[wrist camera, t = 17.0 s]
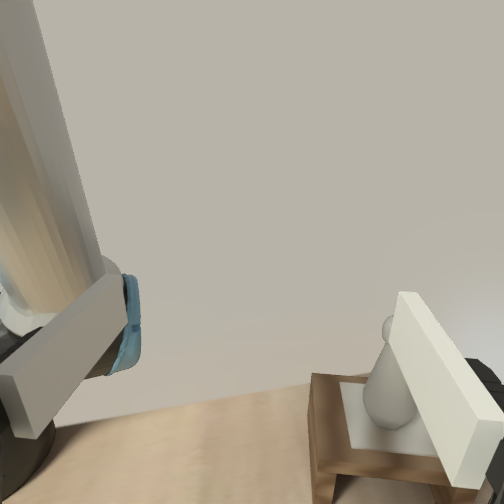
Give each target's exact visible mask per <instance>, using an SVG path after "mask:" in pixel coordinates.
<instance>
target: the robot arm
mask: <svg viewBox="0 0 504 504" xmlns="http://www.w3.org/2000/svg"><path fill="white" fill-rule="evenodd" d="M0 283H1V284H2V286H3V287H4V288H3V290H2V292H0V504H2V500H3V499H5V498H6V497H7V496H9V495H10V494H11V493H13V492H14V491H15V490H17V489H18V488H19V487H20V486H21V485H22V484H23V483H24V482H25V481H27V480H28V479H29V478H30V477H31V475H32V474H33V473H34V472H35V471H36V470H37V469H38V467H39V466H40V465H41V463H42V462H43V461H44V459H45V457H46V456H47V454H48V452H49V450H50V448H51V446H52V443H53V440H54V436H55V425H54V421H53V417H54V416H55V415H56V414H57V412H58V411H59V410H60V409H61V407H62V406H63V405H64V403H65V402H66V401H67V400H68V398H69V397H70V396H71V394H72V393H73V392H74V391H75V389H76V388H77V387H78V386H79V384H80V383H81V382H82V380H84V379H88V378H92V377H97V376H101V375H104V376H110V375H112V374H113V373H115V372H118V371H121V370H125V369H129V368H131V367H133V366H134V365H135V364H136V363H137V362H138V360H139V357H140V352H141V327H140V324H141V323H140V317H141V315H140V300H139V289H138V282H137V279H136V277H135V276H133V275H126V274H121V272H120V270H119V268H118V267H117V265H116V264H115V263H113V262H112V261H111V260H110V259H108V258H107V257H105V256H102V255H101V253H100V249H99V245H98V242H97V238H96V234H95V230H94V227H93V224H92V219H91V216H90V212H89V208H88V205H87V201H86V197H85V193H84V190H83V186H82V183H81V179H80V175H79V171H78V167H77V164H76V160H75V156H74V152H73V149H72V145H71V141H70V138H69V134H68V130H67V127H66V123H65V119H64V116H63V112H62V108H61V104H60V101H59V97H58V93H57V90H56V86H55V82H54V78H53V75H52V71H51V67H50V63H49V60H48V56H47V52H46V49H45V45H44V41H43V37H42V34H41V30H40V26H39V23H38V19H37V15H36V12H35V8H34V5H33V0H0ZM389 344H390V346H391V348H392V351H393V353H394V355H395V357H396V360H397V362H398V364H399V367H400V369H401V371H402V373H403V376H404V378H405V380H406V383H407V385H408V387H409V389H410V392H411V394H412V396H413V399H414V401H415V403H416V405H417V408H418V410H419V412H420V415H421V417H422V419H423V421H424V424H425V426H426V428H427V431H428V433H429V435H430V437H431V440H432V442H433V444H434V447H435V449H436V451H437V453H438V456H439V458H440V460H441V463H442V465H443V467H444V469H445V472H446V474H447V476H448V479H449V481H450V483H451V485H452V487H460V488H469V489H478V490H480V488H481V486H482V484H483V481H484V479H485V477H487V479H488V481H489V483H490V484H491V486H492V488H493V490H494V492H493V494H492V496H491V498H490V500H489V502H488V504H504V385H502V384H501V381H500V380H499V379H498V377H497V376H496V375H495V374H494V372H493V371H492V370H491V369H490V368H488V367H487V366H486V365H484V364H483V363H482V362H480V361H479V360H478V359H470V358H464V357H463V356H462V354H461V353H460V352H459V350H458V349H457V347H456V346H455V345H454V343H453V342H452V341H451V339H450V338H449V336H448V335H447V334H446V332H445V331H444V329H443V328H442V327H441V325H440V324H439V322H438V321H437V320H436V318H435V317H434V316H433V314H432V313H431V311H430V310H429V309H428V307H427V306H426V304H425V303H424V302H423V300H422V299H421V297H420V296H419V295H418V293H417V292H401V291H399V294H398V299H397V304H396V308H395V313H394V317H393V322H392V327H391V331H390V336H389Z"/></svg>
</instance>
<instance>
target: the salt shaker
mask: <svg viewBox="0 0 504 504" xmlns="http://www.w3.org/2000/svg"><path fill="white" fill-rule="evenodd" d="M393 317H394V315H393V316H390V317H388V318H387V319H386V320H385V322H384V324H383V328H382V337H383V339H384V340H385V342H386V344H385V346H384V348H383V350H382V352H381V354H380V356H379V358H378V360H377V362H376V364H375V366H374V368H373V370H372V372H371V374H370V376H369V378H368V380H367V382H366V384H365V386H364V388H363V402H364V405H365V408H366V411H367V414H368V415H369V416H370V417H371V419H372V420H373V421H374V422H375V424H376V425H377V426H379V427H382V428H386V429H389V430H393V431H395V430H397V429H398V428H399V427H401V426H403V425H405V424H407V423H409V422H411V421H412V419H413V418H414V416H415V414H416V413H417V411H418V408H417V405H416V403H415V401H414V399H413V396H412V394H411V392H410V389H409V387H408V385H407V383H406V380H405V378H404V376H403V373H402V371H401V369H400V367H399V364H398V362H397V360H396V357H395V355H394V353H393V351H392V348H391V346H390V344H389V336H390V331H391V327H392V322H393Z"/></svg>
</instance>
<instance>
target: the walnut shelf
mask: <svg viewBox="0 0 504 504" xmlns="http://www.w3.org/2000/svg"><path fill="white" fill-rule="evenodd" d="M367 380H368V378H366V377H354V376H342V375H330V374H319V373H312V376H311V386H310V395H309V405H308V414H307V416H308V433H309V450H310V467H311V484H312V501H313V504H332V499H333V493H334V487H335V481H336V475H337V473H338V474H347V475H356V476H364V477H373V478H382V479H391V480H400V481H409V482H417V483H426V484H429V485H430V488H431V490H432V493H433V496H434V498H435V501H436V504H473V501H474V499H475V497H476V495H477V492H478V489H469V488H460V487H452V485H451V483H450V481H449V479H448V476H447V474H446V472H445V469H444V467H443V465H442V463H441V460H440V458H439V456H438V453H437V451H436V449H435V447H434V444H433V442H432V440H431V437H430V435H429V433H428V431H427V428H426V426H425V424H424V421H423V419H422V417H421V415H420V412H419V410H418V411H417V413H416V414H415V416H414V418H413V419H412V421H411V422H409V423H407V424H405V425H403V426H401V427H399V428H398V429H397V430H395V431H393V430H389V429H386V428H382V427H379V426H377V425H376V424H375V422H374V421H373V420H372V419H371V417H370V416H369V415H368V414H367V411H366V408H365V405H364V402H363V388H364V386H365V384H366V382H367Z"/></svg>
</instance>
